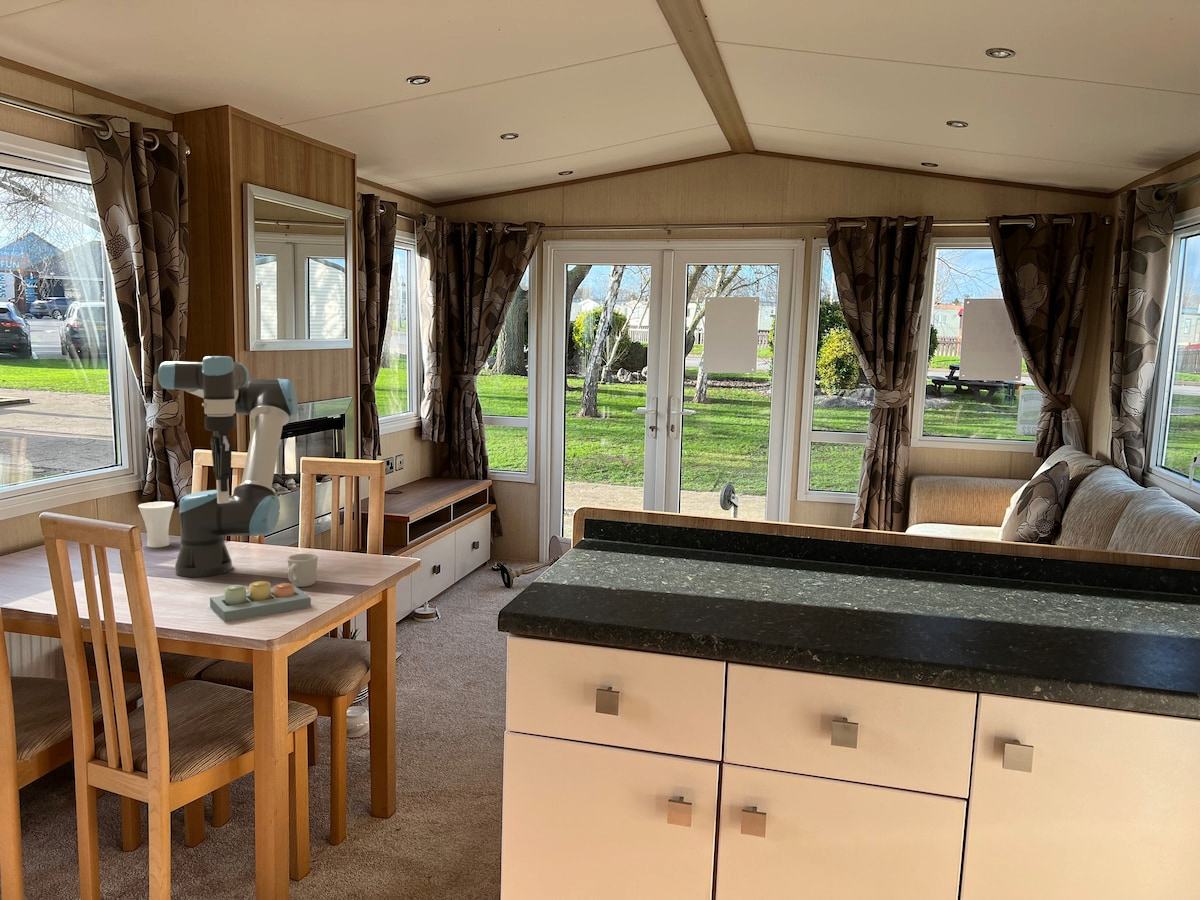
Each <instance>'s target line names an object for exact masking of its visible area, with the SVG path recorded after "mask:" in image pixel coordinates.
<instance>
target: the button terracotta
mask: <svg viewBox="0 0 1200 900" xmlns="http://www.w3.org/2000/svg"><path fill="white" fill-rule="evenodd" d="M273 587H274V596H275V597H276V598H280V597H286V596H292V595H294V585H293V584H291V582H290V583H288V582H282V583H278V584H276V585H274V586H273Z"/></svg>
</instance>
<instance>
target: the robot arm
mask: <svg viewBox="0 0 1200 900" xmlns="http://www.w3.org/2000/svg"><path fill="white" fill-rule="evenodd" d="M250 376H251V375H250V371H249V369H248V368H247V366H245V364H243V363H241V362H237V361H234V358H233V357H232V356H230V355H229V356H228V355H227V356H225V355H223V356H221V355H212V356H210V355H208V356H204V357H203V359H202V361H199V362H198V361H176V360H173V361H163V362H161V363H160V365H159V366H158V372H157V379H158V383H159V385H160V387H161V388H163V389H164V390H172V391H174V390H182V391H184V392H187V393H189V394H191V395H195V396H196V397H199V398H202V399H203V402H202V403H201V406H202V407H203V408H204V409H203V410H204V414H205V417H204V429H205V430H206V431H209V432H211V431H212V436H211V437H210V439H209V443H210V448H211V457H212V467H213V475H214V476H215V477H214V478H215V481H216V484H215V485H216V489H209V490H201V491H198V492H192V493H189V494H186V495H184V496H182V497H181V498H180V500H179V511H178V514H179V529H180V533H179V534H180V549H179V552H178V554H177V555H178V556H177V558H176V561H175V566H174V567H175V568H174V570H175V574H176V575H178V576H181V577H189V578H191V577H192V578H195V577H196V578H199V577H200V578H201V577H210V576H216V575H220V574H224V573H226V572H230V571H231V570H232V569H233V561H232V558H231V556H230V553H229V550H228V548H227V544H226V542H225V541H226V539H225V536H228V537H229V536H235V537H236V536H243V537H245V536H250V537H251V536H252V537H258V536H268V535H270V534H271V533H273V531H275V529H276V527H277V525H278V522H279V518H280V509H281V503H280V500H279V497H278V496H276V492H275V490H273V489H272V488H273V487H272V485H273V482H274V476H275V471H276V470H275V469H276V466H277V459H278V454H279V449H280V444H281V443H280V442H281V437H282V432H283V426H286V425H287V424H288V423H289V422H290V421H289V420H290V418H291V417H293V416H296V415H297V414H298V411H299V410H298V409H299V405H298V404H299V403H298V402H299V401H298V394H297V390H296V386H295V384H294V382H293V381H292V380H291V379H287V378H286V379H285V378H279V377H278V378H252V377H251V378H250ZM234 414H238V415H244V416H245V415H246V416H250V418H251V420H253V424H252V428H251V434H250V439H249V444H248V449H247V454H246V459H245V462H244V467H243V472H242V473H243V474H242V477H241V483H240V484H238V485H236V486H235V487H234V488H233V489H234V490H233V493H232V495H230V488H229V487H230V485H229V480H230V479H229V478H232V477H231V476H232V474H231V473H232V450H233V444H232V441H231V439H232V438H231V436H229V431H234V430H235V429H236V428H237V427H236V426H237V425H236V424H237V423H236V416H235V415H234Z"/></svg>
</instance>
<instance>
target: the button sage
mask: <svg viewBox="0 0 1200 900" xmlns="http://www.w3.org/2000/svg"><path fill="white" fill-rule="evenodd" d="M246 592H247V586H246V585H243V584H233V585H228V586H227V587H225V588H224V595H225V605H227V606H231V605H237V604H243V603H246V602H247V600H246Z"/></svg>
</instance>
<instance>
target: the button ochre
mask: <svg viewBox="0 0 1200 900" xmlns="http://www.w3.org/2000/svg"><path fill="white" fill-rule="evenodd" d="M271 588H272V587H271V583H270V582H269V581H265V580H262V581H261V580H260V581H259V580H258V581H254V582H251V583H250V584H249V591H250V601H253V602H256V601H262V600H268V599H271Z"/></svg>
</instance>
